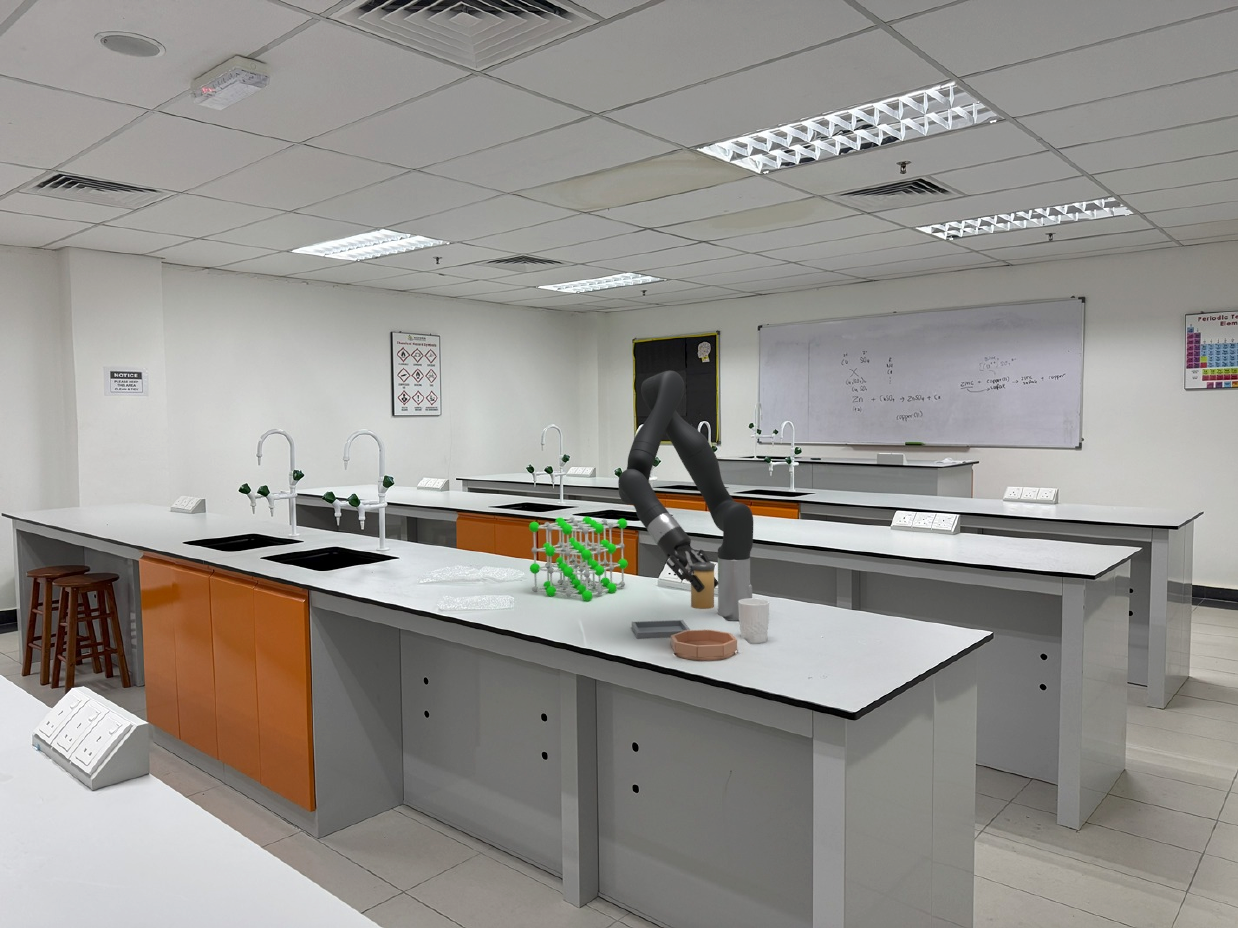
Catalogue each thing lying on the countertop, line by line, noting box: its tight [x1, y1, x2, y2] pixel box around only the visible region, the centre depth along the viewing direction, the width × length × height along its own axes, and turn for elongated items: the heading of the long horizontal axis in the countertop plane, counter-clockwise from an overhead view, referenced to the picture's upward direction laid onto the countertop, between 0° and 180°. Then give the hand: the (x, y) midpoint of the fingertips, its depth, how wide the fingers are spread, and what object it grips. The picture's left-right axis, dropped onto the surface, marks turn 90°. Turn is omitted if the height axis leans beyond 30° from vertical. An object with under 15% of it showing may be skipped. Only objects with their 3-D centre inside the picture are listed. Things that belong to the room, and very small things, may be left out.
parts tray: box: [631, 619, 691, 640], centre depth 217 cm, size 14×12×2 cm
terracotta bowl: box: [670, 629, 738, 662], centre depth 200 cm, size 15×15×4 cm
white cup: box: [738, 597, 770, 644], centre depth 211 cm, size 8×8×10 cm
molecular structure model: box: [528, 516, 629, 602], centre depth 275 cm, size 24×25×24 cm
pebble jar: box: [690, 562, 716, 610], centre depth 200 cm, size 6×6×10 cm
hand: (708, 587), depth 199 cm, fingers closed on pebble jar, 5 cm apart
